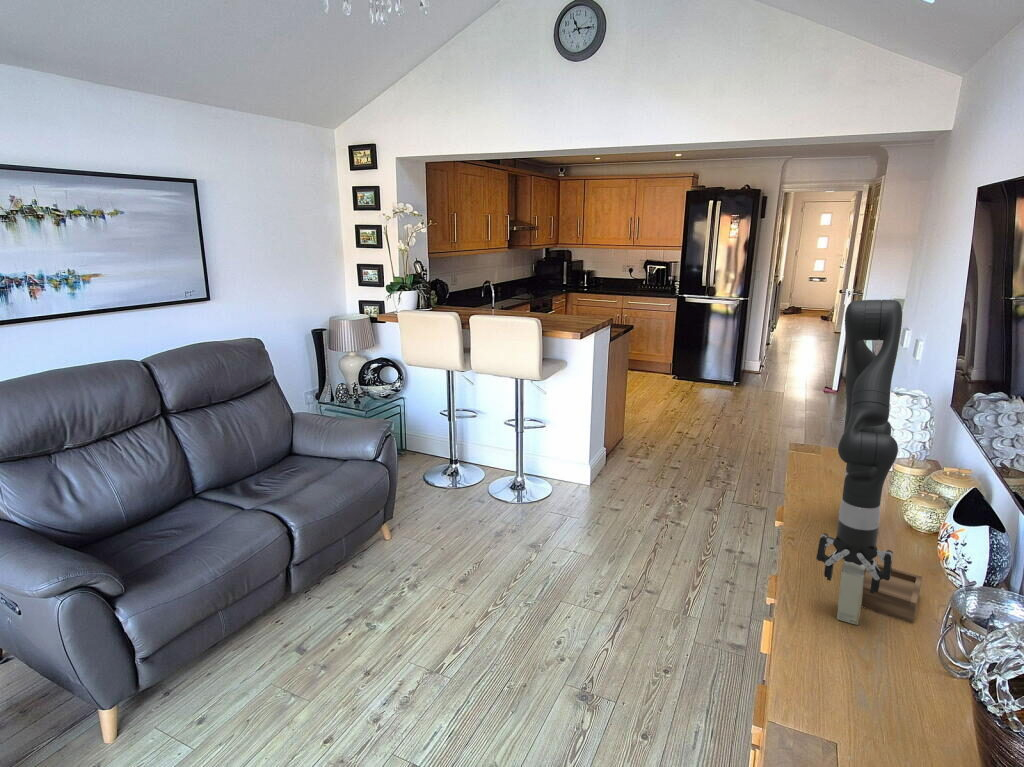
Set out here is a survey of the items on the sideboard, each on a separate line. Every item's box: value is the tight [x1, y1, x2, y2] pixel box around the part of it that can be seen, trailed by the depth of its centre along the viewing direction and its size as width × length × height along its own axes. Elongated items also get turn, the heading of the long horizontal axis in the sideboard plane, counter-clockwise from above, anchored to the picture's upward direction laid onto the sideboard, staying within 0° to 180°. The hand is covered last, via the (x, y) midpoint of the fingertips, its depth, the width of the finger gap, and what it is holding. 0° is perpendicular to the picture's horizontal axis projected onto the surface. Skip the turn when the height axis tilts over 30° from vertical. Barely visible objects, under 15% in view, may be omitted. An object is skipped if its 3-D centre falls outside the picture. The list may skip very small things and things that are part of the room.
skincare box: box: [836, 559, 865, 626], centre depth 132 cm, size 6×4×12 cm
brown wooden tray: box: [861, 563, 923, 624], centre depth 137 cm, size 12×12×6 cm
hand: (850, 585), depth 131 cm, fingers open, 8 cm apart
